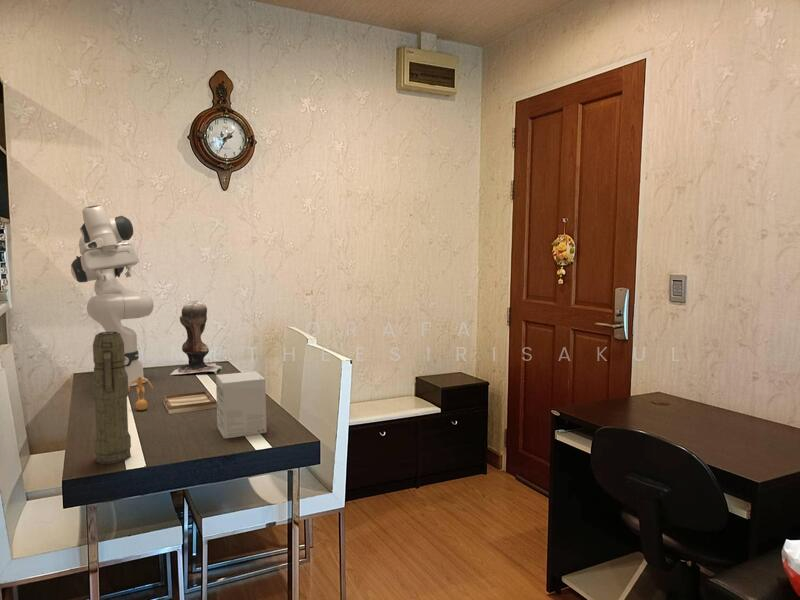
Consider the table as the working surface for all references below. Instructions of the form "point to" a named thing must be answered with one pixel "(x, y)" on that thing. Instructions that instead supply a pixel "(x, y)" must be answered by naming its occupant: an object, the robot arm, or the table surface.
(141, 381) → the figurine
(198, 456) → the table surface
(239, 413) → the supplement box
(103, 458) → the olive green bag
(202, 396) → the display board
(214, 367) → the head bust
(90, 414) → the table surface
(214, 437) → the table surface
